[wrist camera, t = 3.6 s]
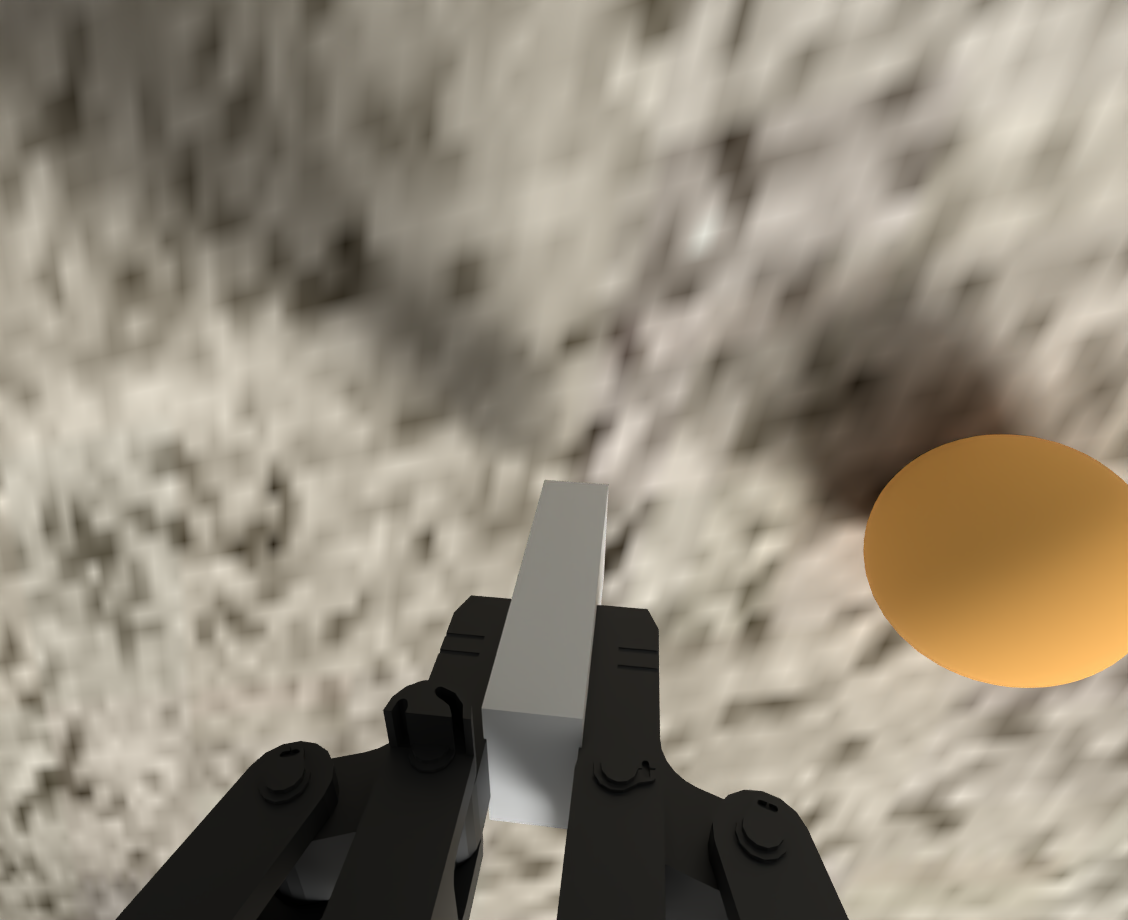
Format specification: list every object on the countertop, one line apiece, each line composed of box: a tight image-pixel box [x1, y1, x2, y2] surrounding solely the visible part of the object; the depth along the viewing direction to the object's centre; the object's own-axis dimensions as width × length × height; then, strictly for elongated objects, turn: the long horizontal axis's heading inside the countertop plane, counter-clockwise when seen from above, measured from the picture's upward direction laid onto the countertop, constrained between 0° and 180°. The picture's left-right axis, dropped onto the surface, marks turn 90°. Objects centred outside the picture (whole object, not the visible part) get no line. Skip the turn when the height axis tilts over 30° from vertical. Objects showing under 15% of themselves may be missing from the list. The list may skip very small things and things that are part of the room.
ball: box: [864, 434, 1128, 688], centre depth 15 cm, size 6×6×6 cm
